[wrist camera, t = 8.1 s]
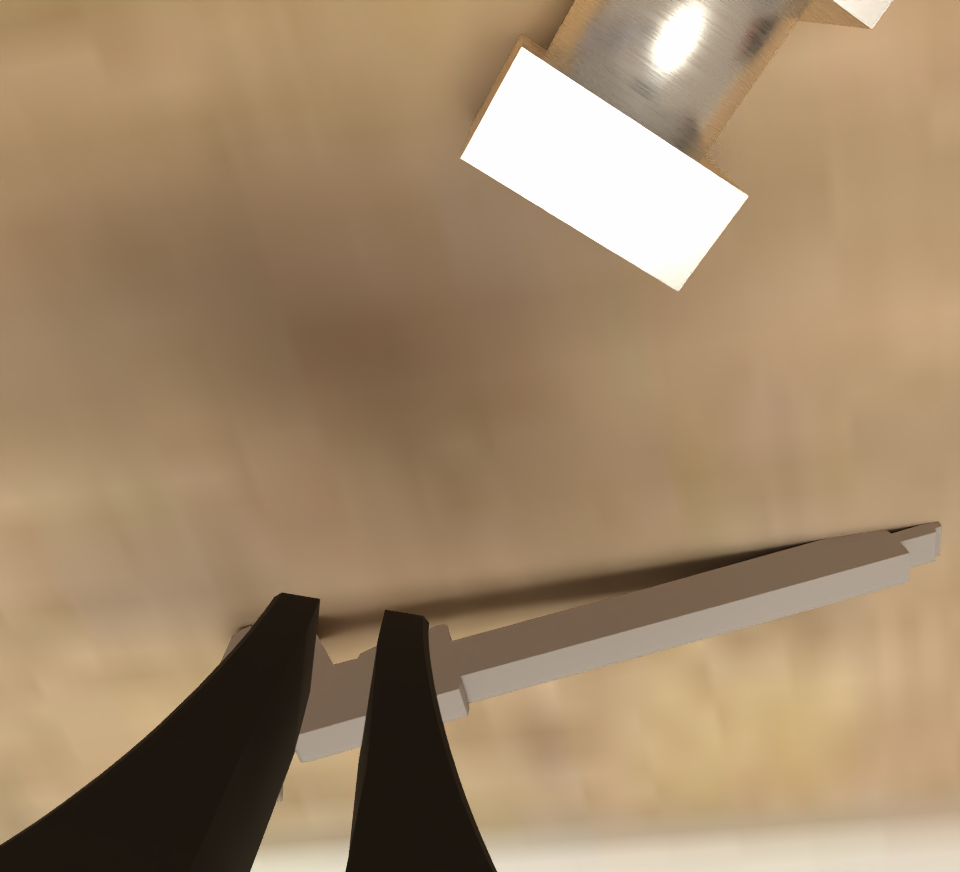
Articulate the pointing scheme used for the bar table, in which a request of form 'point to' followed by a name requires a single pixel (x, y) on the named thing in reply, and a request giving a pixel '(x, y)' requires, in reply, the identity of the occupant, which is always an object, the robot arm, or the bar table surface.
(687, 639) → the caliper
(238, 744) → the robot arm
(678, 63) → the coupling
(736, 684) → the bar table surface
